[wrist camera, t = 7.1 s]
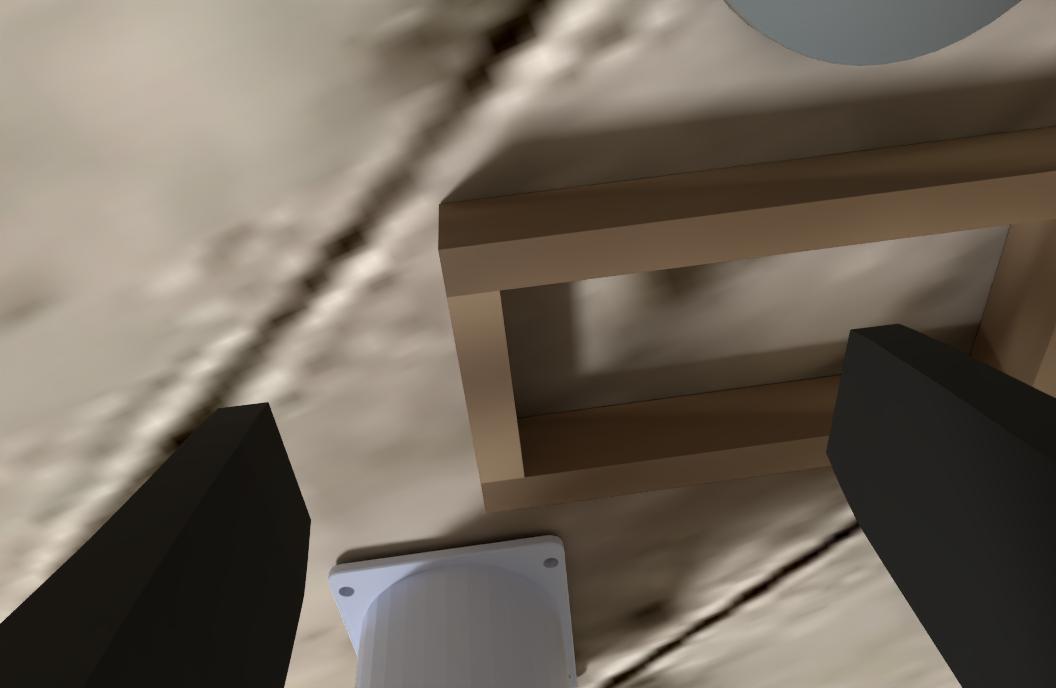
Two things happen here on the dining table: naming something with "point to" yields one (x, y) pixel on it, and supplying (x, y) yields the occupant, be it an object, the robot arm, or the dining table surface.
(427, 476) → the dining table surface
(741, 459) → the pocket frame
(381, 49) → the dining table surface
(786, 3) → the coaster
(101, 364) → the dining table surface
